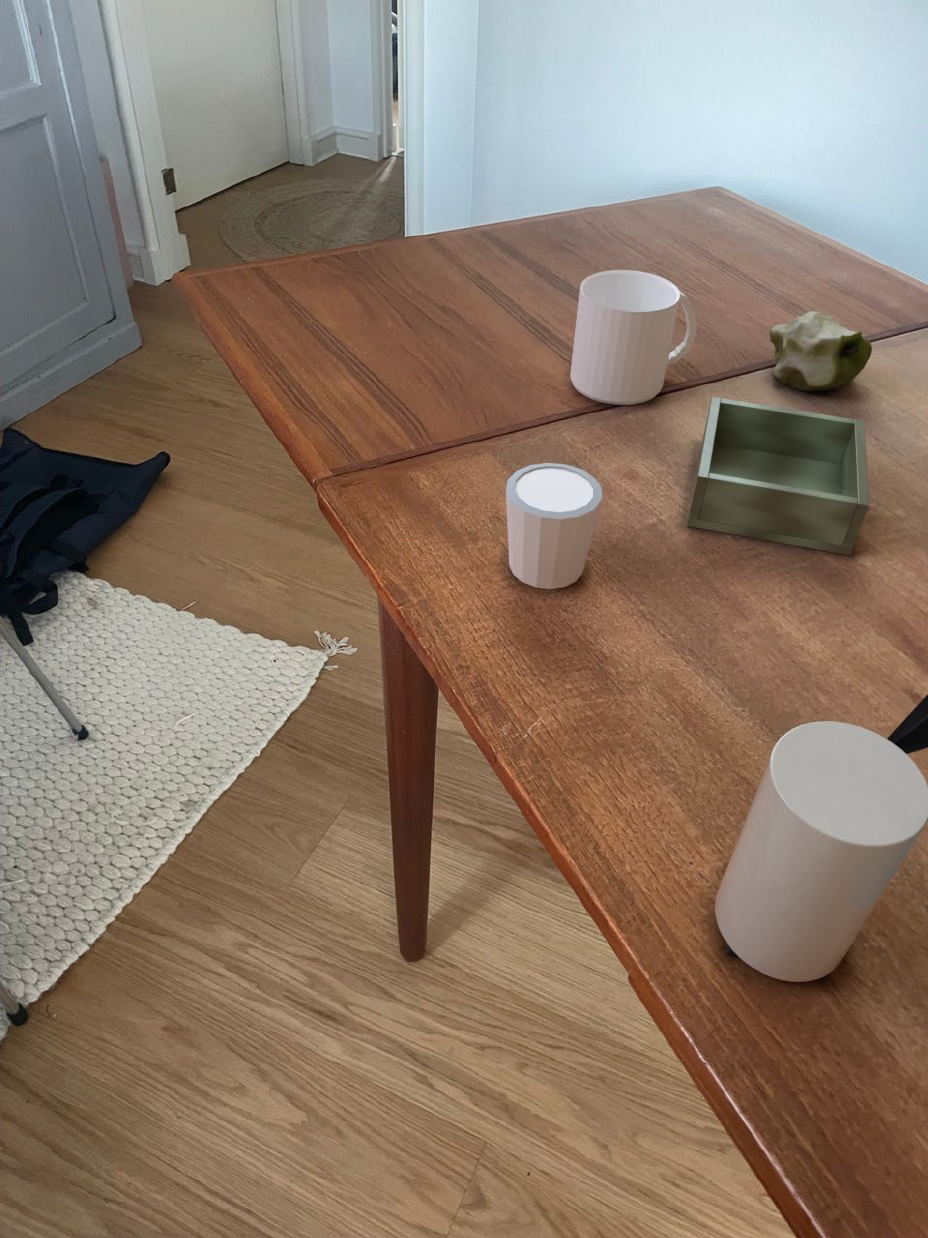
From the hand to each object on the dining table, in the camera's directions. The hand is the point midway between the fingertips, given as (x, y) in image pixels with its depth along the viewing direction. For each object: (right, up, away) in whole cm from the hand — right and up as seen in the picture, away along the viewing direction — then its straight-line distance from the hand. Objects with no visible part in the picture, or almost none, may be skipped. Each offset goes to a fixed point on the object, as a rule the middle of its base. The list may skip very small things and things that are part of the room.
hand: (925, 828), depth 44 cm
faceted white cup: (-15, +14, +27) cm, 34 cm away
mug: (-5, +33, +48) cm, 58 cm away
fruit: (+13, +33, +49) cm, 61 cm away
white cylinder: (-5, -6, +5) cm, 9 cm away
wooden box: (+4, +20, +34) cm, 40 cm away
